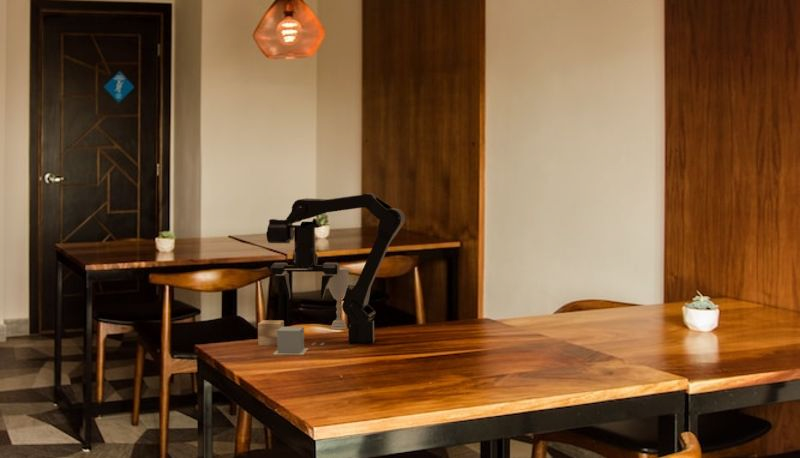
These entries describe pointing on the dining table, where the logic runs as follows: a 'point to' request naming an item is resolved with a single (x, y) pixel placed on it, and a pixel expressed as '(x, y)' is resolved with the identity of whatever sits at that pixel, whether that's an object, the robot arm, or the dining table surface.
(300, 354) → the mat
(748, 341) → the dining table surface
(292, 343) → the slate block
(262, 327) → the birch block
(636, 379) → the dining table surface
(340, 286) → the chalice
